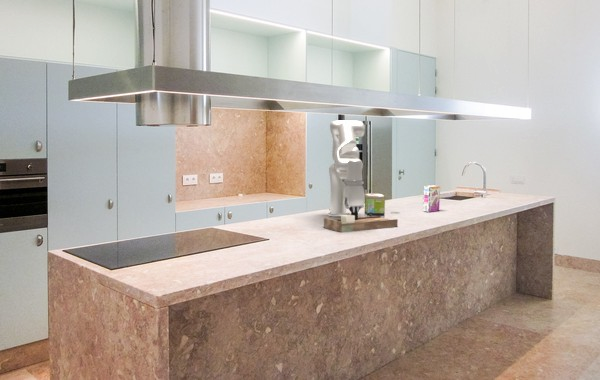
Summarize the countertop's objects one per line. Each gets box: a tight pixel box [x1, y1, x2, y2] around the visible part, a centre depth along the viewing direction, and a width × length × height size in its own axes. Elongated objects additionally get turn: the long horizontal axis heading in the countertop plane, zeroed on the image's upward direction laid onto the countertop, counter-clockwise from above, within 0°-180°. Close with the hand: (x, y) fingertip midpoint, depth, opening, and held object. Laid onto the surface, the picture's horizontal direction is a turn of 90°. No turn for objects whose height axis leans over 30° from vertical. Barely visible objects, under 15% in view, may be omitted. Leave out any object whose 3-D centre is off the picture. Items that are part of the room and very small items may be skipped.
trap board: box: [323, 216, 398, 233], centre depth 268 cm, size 16×35×5 cm, turn 117°
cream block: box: [340, 213, 355, 224], centre depth 259 cm, size 5×5×4 cm
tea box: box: [364, 193, 386, 219], centre depth 292 cm, size 15×10×15 cm, turn 179°
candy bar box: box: [422, 185, 441, 213], centre depth 329 cm, size 11×5×16 cm, turn 130°
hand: (354, 219), depth 262 cm, fingers closed
